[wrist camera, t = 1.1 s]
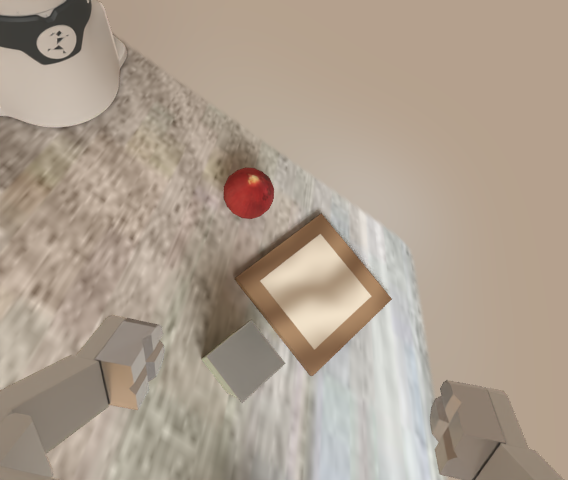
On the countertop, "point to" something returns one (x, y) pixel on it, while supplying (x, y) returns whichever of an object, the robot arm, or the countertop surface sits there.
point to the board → (314, 293)
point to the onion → (248, 193)
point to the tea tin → (243, 361)
